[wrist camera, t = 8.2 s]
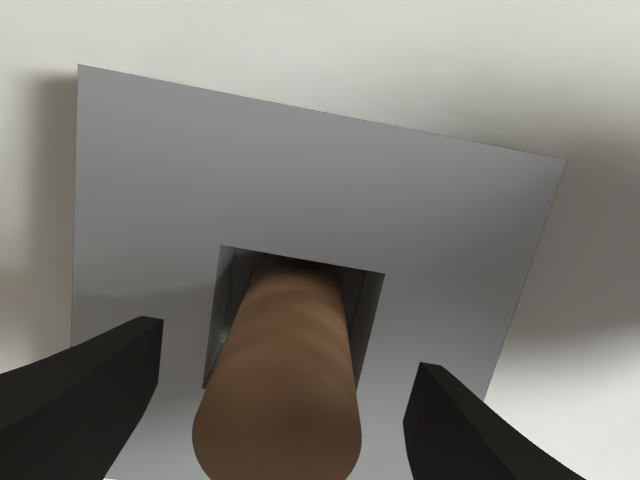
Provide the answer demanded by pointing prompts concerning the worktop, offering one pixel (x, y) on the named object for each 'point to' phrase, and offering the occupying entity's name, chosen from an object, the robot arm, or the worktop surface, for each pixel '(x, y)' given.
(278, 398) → the dowel
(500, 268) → the socket block
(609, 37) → the worktop surface
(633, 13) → the worktop surface
